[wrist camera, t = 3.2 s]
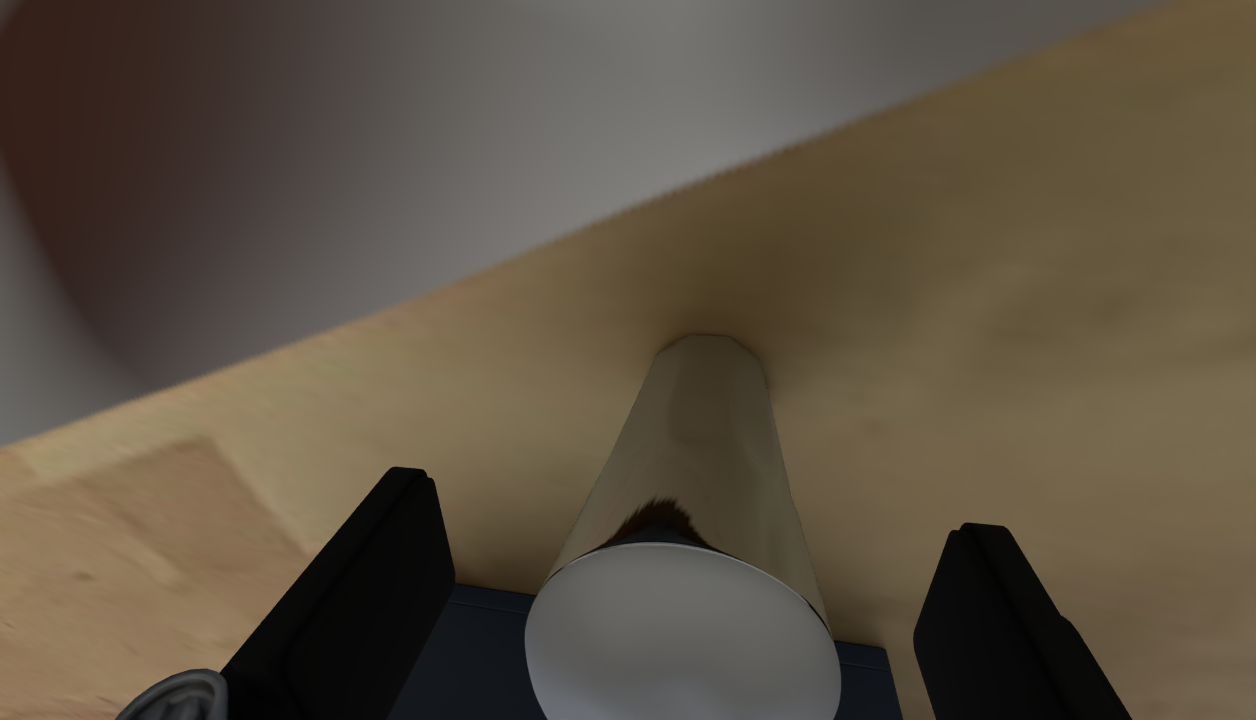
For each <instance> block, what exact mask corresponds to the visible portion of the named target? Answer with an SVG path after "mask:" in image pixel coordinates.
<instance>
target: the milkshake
mask: <svg viewBox="0 0 1256 720" xmlns="http://www.w3.org/2000/svg"><path fill="white" fill-rule="evenodd" d="M525 650H526V659H527V665H528V670H529V674H530V678H531V682H532V686H533V689H534V692H535V695H536V697H537V700H538V702H539V704H540V706H541V708H542V710H543V712H544V714H545V716H546V718H547V719H548V720H833V719H834V717H835V715H836V712H837V709H838V706H839V701H840V694H841V672H840V665H839V659H838V655H837V652H836V649H835V645H834V641H833V637H832V633H831V630H830V626H829V622H828V619H827V615H826V611H825V608H824V604H823V600H822V597H821V593H820V589H819V586H818V582H817V578H816V575H815V571H814V567H813V564H812V560H811V557H810V553H809V549H808V546H807V542H806V539H805V535H804V532H803V528H802V525H801V522H800V518H799V516H798V513H797V510H796V507H795V504H794V501H793V498H792V495H791V490H790V486H789V481H788V477H787V472H786V468H785V463H784V459H783V454H782V450H781V445H780V441H779V436H778V432H777V427H776V422H775V418H774V413H773V409H772V404H771V400H770V396H769V392H768V388H767V385H766V381H765V377H764V374H763V370H762V366H761V362H760V360H759V359H758V358H757V357H755V356H754V355H753V354H751V353H750V352H748V351H747V350H746V349H744V348H743V347H742V346H740V345H739V344H738V343H736V342H735V341H733V340H732V339H731V338H729V337H722V336H703V335H687V336H686V337H684V338H682V339H681V340H679V341H677V342H676V343H674V344H672V345H671V346H669V347H667V348H665V349H664V350H662V351H660V352H659V353H657V354H656V356H655V358H654V360H653V363H652V365H651V367H650V369H649V371H648V373H647V376H646V378H645V380H644V382H643V384H642V387H641V389H640V391H639V393H638V395H637V397H636V400H635V402H634V404H633V406H632V408H631V411H630V413H629V415H628V417H627V419H626V421H625V424H624V426H623V428H622V430H621V432H620V434H619V437H618V439H617V441H616V443H615V445H614V447H613V449H612V452H611V454H610V456H609V458H608V460H607V462H606V464H605V466H604V468H603V470H602V471H601V473H600V475H599V477H598V479H597V481H596V483H595V484H594V486H593V488H592V490H591V492H590V494H589V496H588V497H587V499H586V501H585V503H584V505H583V507H582V509H581V511H580V513H579V515H578V517H577V518H576V520H575V522H574V524H573V526H572V528H571V530H570V532H569V534H568V536H567V538H566V540H565V542H564V544H563V545H562V547H561V549H560V551H559V553H558V555H557V557H556V559H555V561H554V563H553V565H552V567H551V569H550V571H549V573H548V575H547V576H546V578H545V580H544V582H543V584H542V586H541V588H540V590H539V592H538V595H537V597H536V598H535V600H534V602H533V604H532V607H531V610H530V612H529V615H528V619H527V623H526V628H525Z"/></svg>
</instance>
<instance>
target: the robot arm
mask: <svg viewBox="0 0 1256 720" xmlns="http://www.w3.org/2000/svg"><path fill="white" fill-rule="evenodd" d="M454 585H455V570H454V565H453V561H452V556H451V552H450V548H449V543H448V539H447V534H446V530H445V526H444V521H443V517H442V512H441V508H440V504H439V499H438V495H437V490H436V486H435V482H434V480H433V479H432V478H429V477H428V476H427V474H426V472H425V471H424V470H422V469H415V468H405V467H392V468H390V469H389V470H388V471H387V472H386V473H385V475H384V476H383V477H382V478H381V479H380V481H379V482H378V483H377V484H376V485H375V487H374V488H373V489H372V490H371V491H370V493H369V494H368V495H367V496H366V497H365V499H364V500H363V501H362V502H361V503H360V505H359V506H358V507H357V508H356V510H355V511H354V512H353V513H352V514H351V516H350V517H349V518H348V519H347V520H346V522H345V523H344V524H343V525H342V526H341V528H340V529H339V530H338V531H337V532H336V534H335V535H334V536H333V537H332V538H331V540H330V541H329V542H328V543H327V544H326V545H325V546H324V548H323V549H322V550H321V551H320V552H319V554H318V555H317V556H316V557H315V558H314V560H313V561H312V562H311V563H310V565H309V566H308V567H307V568H306V569H305V571H304V572H303V573H302V574H301V575H300V577H299V578H298V579H297V580H296V581H295V583H294V584H293V585H292V586H291V587H290V589H289V590H288V591H287V592H286V593H285V595H284V596H283V597H282V598H281V599H280V601H279V602H278V603H277V604H276V605H275V607H274V608H273V609H272V610H271V612H270V613H269V614H268V615H267V616H266V618H265V619H264V620H263V621H262V622H261V624H260V625H259V626H258V627H257V628H256V630H255V631H254V632H253V633H252V634H251V636H250V637H249V638H248V639H247V640H246V642H245V643H244V644H243V645H242V646H241V648H240V649H239V650H238V651H237V652H236V654H235V655H234V656H233V657H232V659H231V660H230V661H229V662H228V663H227V665H226V666H225V667H224V668H223V669H222V671H221V672H220V673H218V672H216V671H213V670H209V669H193V670H187V671H184V672H181V673H178V674H175V675H172V676H170V677H168V678H166V679H164V680H162V681H160V682H158V683H156V684H154V685H153V686H151V687H150V688H148V689H147V690H146V691H144V692H143V693H142V694H140V695H139V696H137V697H136V698H135V699H134V700H133V701H132V702H131V703H130V704H129V705H128V706H127V707H126V708H125V709H124V710H123V711H122V712H121V713H120V714H119V715H118V716H117V717H116V719H115V720H386V719H387V717H388V716H389V714H390V712H391V710H392V708H393V706H394V704H395V702H396V700H397V698H398V696H399V694H400V692H401V690H402V688H403V687H404V685H405V683H406V681H407V679H408V677H409V675H410V673H411V671H412V669H413V667H414V665H415V663H416V661H417V659H418V657H419V656H420V654H421V652H422V650H423V648H424V646H425V644H426V642H427V640H428V638H429V636H430V634H431V632H432V630H433V628H434V627H435V625H436V623H437V621H438V619H439V617H440V615H441V613H442V611H443V609H444V607H445V605H446V603H447V601H448V599H449V598H450V596H451V594H452V591H453V588H454ZM913 643H914V651H915V655H916V658H917V661H918V664H919V667H920V670H921V673H922V677H923V680H924V683H925V686H926V689H927V692H928V695H929V698H930V702H931V705H932V708H933V711H934V714H935V717H936V720H1132V718H1131V717H1130V715H1129V713H1128V712H1127V710H1126V709H1125V707H1124V705H1123V704H1122V702H1121V700H1120V699H1119V697H1118V696H1117V694H1116V692H1115V691H1114V689H1113V687H1112V686H1111V684H1110V683H1109V681H1108V679H1107V678H1106V676H1105V675H1104V673H1103V671H1102V670H1101V668H1100V666H1099V665H1098V663H1097V662H1096V660H1095V658H1094V657H1093V655H1092V653H1091V652H1090V650H1089V649H1088V647H1087V645H1086V644H1085V642H1084V641H1083V639H1082V637H1081V636H1080V634H1079V632H1078V631H1077V630H1076V629H1075V627H1074V626H1073V625H1072V623H1071V622H1070V621H1068V620H1067V619H1066V618H1064V617H1063V616H1061V615H1060V613H1059V612H1058V610H1057V609H1056V607H1055V605H1054V604H1053V602H1052V600H1051V599H1050V597H1049V595H1048V594H1047V592H1046V590H1045V589H1044V587H1043V585H1042V584H1041V582H1040V580H1039V579H1038V577H1037V575H1036V574H1035V572H1034V570H1033V569H1032V567H1031V566H1030V564H1029V562H1028V561H1027V559H1026V557H1025V556H1024V554H1023V552H1022V551H1021V549H1020V547H1019V546H1018V544H1017V542H1016V541H1015V539H1014V537H1013V536H1012V534H1011V533H1010V531H1009V530H1008V529H1007V528H1005V527H1004V526H998V525H988V524H978V523H964V524H963V525H962V526H961V528H960V530H952V531H951V532H950V534H949V535H948V538H947V541H946V544H945V547H944V549H943V552H942V555H941V558H940V560H939V563H938V566H937V569H936V572H935V574H934V577H933V580H932V583H931V585H930V588H929V591H928V594H927V597H926V599H925V602H924V605H923V608H922V610H921V613H920V616H919V619H918V622H917V624H916V627H915V630H914V636H913Z"/></svg>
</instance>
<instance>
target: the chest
mask: <svg viewBox="0 0 1256 720" xmlns="http://www.w3.org/2000/svg"><path fill="white" fill-rule="evenodd" d="M535 598H536V596H530V595H523V594H516V593H510V592H503V591H497V590H490V589H483V588H477V587H470V586H464V585H457V584H455V585H454V588H453V591H452V594H451V596H450V598H449V599H448V601H447V603H446V605H445V607H444V609H443V611H442V613H441V615H440V617H439V619H438V621H437V623H436V625H435V627H434V628H433V630H432V632H431V634H430V636H429V638H428V640H427V642H426V644H425V646H424V648H423V650H422V652H421V654H420V656H419V657H418V659H417V661H416V663H415V665H414V667H413V669H412V671H411V673H410V675H409V677H408V679H407V681H406V683H405V685H404V687H403V688H402V690H401V692H400V694H399V696H398V698H397V700H396V702H395V704H394V706H393V708H392V710H391V712H390V714H389V716H388V717H387V719H386V720H548V719H547V718H546V716H545V714H544V712H543V710H542V708H541V706H540V704H539V702H538V700H537V697H536V695H535V692H534V689H533V686H532V682H531V678H530V674H529V670H528V665H527V659H526V650H525V628H526V623H527V619H528V615H529V612H530V610H531V607H532V604H533V602H534V600H535ZM834 645H835V649H836V652H837V655H838V659H839V665H840V672H841V694H840V701H839V706H838V709H837V712H836V715H835V717H834V719H833V720H903V717H902V713H901V709H900V705H899V700H898V696H897V692H896V688H895V684H894V680H893V676H892V673H891V668H890V664H889V660H888V656H887V652H886V650H885V649H881V648H874V647H867V646H861V645H854V644H848V643H841V642H834Z"/></svg>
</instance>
